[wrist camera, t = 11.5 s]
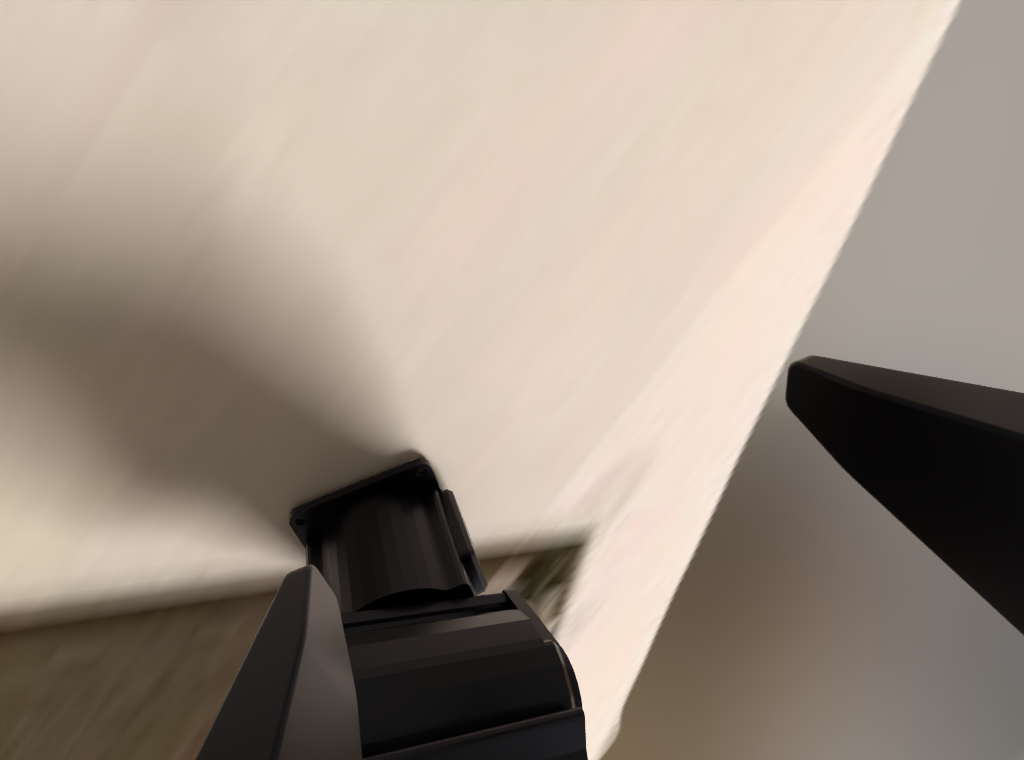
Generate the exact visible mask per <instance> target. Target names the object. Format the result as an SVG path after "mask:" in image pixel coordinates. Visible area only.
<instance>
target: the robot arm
mask: <svg viewBox="0 0 1024 760" xmlns="http://www.w3.org/2000/svg"><path fill="white" fill-rule="evenodd" d="M785 400H786V404H787V406H788V407H789V409H790V410H791V412H792V413H793V414H794V415H795V416H796V417H797V418H798V419H799V421H800V422H801V423H802V424H803V425H804V426H805V427H806V428H807V429H808V431H809V432H810V433H811V434H812V435H813V436H814V437H815V438H816V440H817V441H818V442H819V443H820V444H821V445H822V446H823V447H824V449H826V451H827V452H828V453H829V454H830V455H831V456H832V457H833V458H834V460H835V461H836V462H837V463H838V464H839V465H840V466H841V467H842V468H843V469H844V470H845V471H846V472H847V473H848V474H849V475H850V476H851V477H852V478H853V479H854V480H855V481H856V482H857V483H858V484H860V485H861V486H862V487H863V488H864V489H865V490H866V491H867V492H868V493H869V494H870V495H872V496H873V497H874V498H875V499H876V500H877V501H878V502H879V503H880V504H881V505H882V506H884V507H885V508H886V509H887V510H888V511H889V512H890V513H891V514H892V515H893V516H894V517H895V518H896V519H898V520H899V521H900V522H901V523H902V524H903V525H904V526H905V527H906V528H907V529H908V530H909V531H911V532H912V533H913V534H914V535H915V536H916V537H917V538H918V539H919V540H920V541H921V542H923V543H924V544H925V545H926V546H927V547H928V548H929V549H930V550H931V551H932V552H933V553H935V554H936V555H937V556H938V557H939V558H940V559H941V560H942V561H943V562H944V563H945V564H946V565H947V566H949V567H950V568H951V569H952V570H953V571H954V572H955V573H956V574H957V575H959V577H961V578H962V579H963V580H964V581H965V582H966V583H967V584H968V585H969V586H970V587H971V588H972V589H974V590H975V591H976V592H977V593H978V594H979V595H980V596H981V597H982V598H983V599H984V600H986V601H987V602H988V603H989V604H990V605H991V606H992V607H993V608H994V609H995V610H996V611H997V612H999V613H1000V614H1001V615H1002V616H1003V617H1004V618H1005V619H1006V620H1007V621H1008V622H1009V623H1011V624H1012V625H1013V626H1014V627H1015V628H1016V629H1017V630H1018V631H1019V632H1020V633H1021V634H1022V635H1024V393H1019V392H1014V391H1008V390H1003V389H997V388H992V387H986V386H981V385H975V384H970V383H964V382H959V381H953V380H948V379H942V378H936V377H931V376H925V375H920V374H914V373H909V372H903V371H897V370H892V369H887V368H881V367H876V366H870V365H864V364H859V363H853V362H848V361H842V360H837V359H831V358H826V357H820V356H814V355H810V356H807V357H804V358H802V359H799V360H797V361H794V362H793V363H791V364H790V366H789V368H788V372H787V382H786V392H785ZM420 468H424V470H423V471H420V472H418V471H417V470H418V469H420ZM299 517H306V518H304V519H297V518H299ZM289 524H290V526H291V528H292V529H293V531H294V532H295V534H296V535H297V536H298V538H299V539H300V541H301V542H302V544H303V545H304V547H305V548H306V566H304V567H302V568H299V569H297V570H295V571H292V572H290V573H288V574H287V575H286V576H285V578H284V579H283V581H282V583H281V585H280V587H279V589H278V592H277V594H276V596H275V598H274V600H273V602H272V604H271V606H270V608H269V610H268V612H267V614H266V616H265V618H264V620H263V622H262V624H261V626H260V628H259V630H258V632H257V634H256V636H255V638H254V640H253V642H252V644H251V646H250V648H249V651H248V653H247V655H246V657H245V659H244V661H243V663H242V665H241V667H240V669H239V671H238V673H237V675H236V677H235V679H234V681H233V683H232V685H231V687H230V689H229V691H228V693H227V695H226V697H225V699H224V701H223V703H222V705H221V707H220V710H219V712H218V714H217V716H216V718H215V720H214V722H213V724H212V726H211V728H210V730H209V732H208V734H207V736H206V738H205V740H204V742H203V744H202V746H201V748H200V750H199V752H198V754H197V756H196V758H195V760H588V757H587V751H586V733H585V715H584V712H583V709H582V701H581V696H580V691H579V686H578V682H577V679H576V676H575V673H574V670H573V668H572V665H571V663H570V661H569V659H568V657H567V655H566V653H565V652H564V650H563V649H562V647H561V646H560V645H559V643H558V642H557V641H556V640H555V638H554V637H553V636H552V634H551V633H550V632H549V631H548V629H547V628H546V627H545V625H544V624H543V623H542V622H541V620H540V619H539V618H538V616H537V615H536V614H535V613H534V611H533V610H532V609H531V607H530V606H529V605H528V604H527V602H526V601H525V600H524V598H523V597H522V596H521V595H520V593H519V592H518V591H517V589H509V590H503V591H502V593H497V594H489V595H481V596H477V594H479V593H482V592H484V591H485V590H486V587H487V585H488V584H487V581H486V579H485V576H484V573H483V571H482V568H481V565H480V562H479V560H478V557H477V554H476V552H475V549H474V546H473V543H472V541H471V538H470V535H469V533H468V530H467V527H466V524H465V522H464V519H463V517H462V514H461V512H460V509H459V507H458V504H457V502H456V499H455V497H454V494H453V492H452V491H450V490H447V489H446V490H444V491H441V488H440V486H439V483H438V481H437V478H436V476H435V474H434V471H433V469H432V466H431V464H430V462H429V461H428V460H426V459H422V458H420V459H416V460H414V461H411V462H409V463H406V464H404V465H401V466H399V467H396V468H394V469H391V470H389V471H386V472H384V473H381V474H379V475H376V476H374V477H371V478H369V479H366V480H364V481H361V482H359V483H356V484H354V485H351V486H349V487H346V488H344V489H341V490H339V491H336V492H334V493H331V494H329V495H326V496H324V497H321V498H319V499H316V500H314V501H311V502H309V503H306V504H304V505H301V506H299V507H296V508H294V509H293V510H292V511H291V512H290V515H289Z"/></svg>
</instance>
